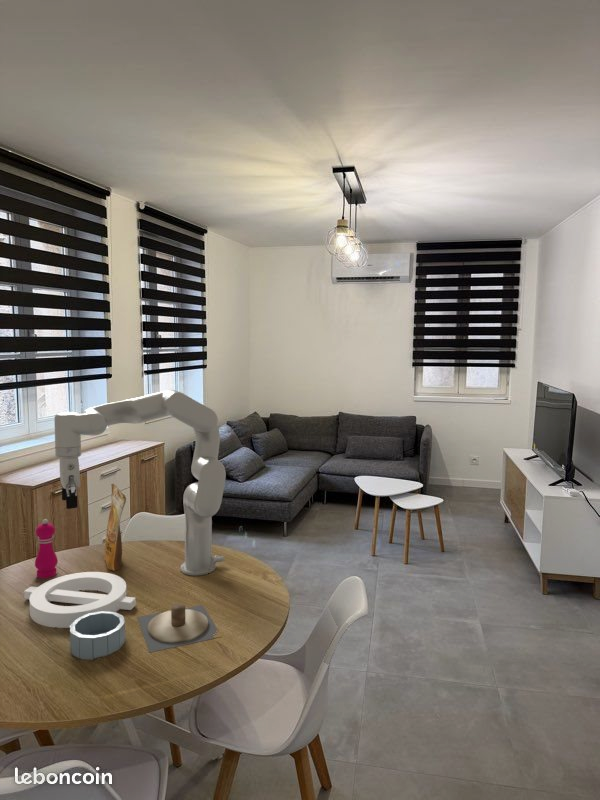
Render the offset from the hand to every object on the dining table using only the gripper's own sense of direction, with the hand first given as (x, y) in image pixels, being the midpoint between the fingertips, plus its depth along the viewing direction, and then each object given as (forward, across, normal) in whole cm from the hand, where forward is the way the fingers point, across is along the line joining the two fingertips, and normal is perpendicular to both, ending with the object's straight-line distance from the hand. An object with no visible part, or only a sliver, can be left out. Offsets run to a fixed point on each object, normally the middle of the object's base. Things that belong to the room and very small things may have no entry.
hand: (69, 503), depth 177 cm
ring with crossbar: (+31, -9, -1) cm, 32 cm away
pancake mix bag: (+30, +18, -18) cm, 40 cm away
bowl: (+30, -35, -2) cm, 46 cm away
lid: (+30, -37, -24) cm, 53 cm away
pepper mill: (+30, +18, +6) cm, 36 cm away
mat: (+30, -37, -24) cm, 53 cm away
